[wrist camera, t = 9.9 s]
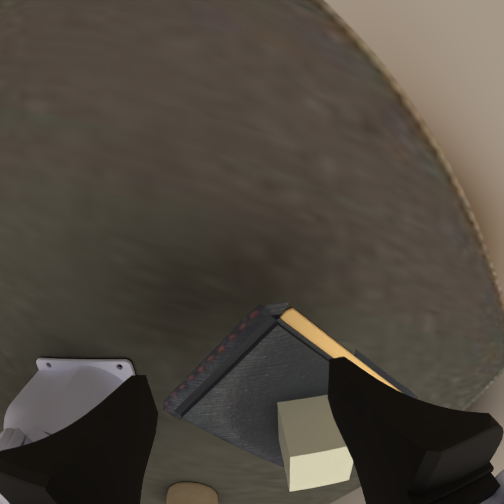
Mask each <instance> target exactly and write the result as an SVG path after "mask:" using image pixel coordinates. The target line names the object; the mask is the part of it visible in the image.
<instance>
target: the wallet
mask: <svg viewBox="0 0 504 504" xmlns="http://www.w3.org/2000/svg"><path fill="white" fill-rule="evenodd" d="M288 304H289V302H283V303H276V304H269V305H264V306H261V305H258V306H257V307H256V308H255V309H254V310H253V311H252V312H251V313H250V314H249V315H247V316H246V317H245V318H244V319H243V320H242V321H241V322H240V323H239V325H238V326H237V327H236V328H235V329H234V330H233V331H232V332H231V333H230V334H229V335H228V336H227V337H226V338H225V339H224V340H223V341H222V342H221V343H220V344H219V345H218V346H217V347H216V348H215V349H214V350H213V351H212V352H211V353H210V355H209V356H208V357H207V358H206V359H205V360H204V361H203V362H202V363H201V364H200V365H199V366H198V367H197V368H196V369H195V370H194V371H193V372H192V373H191V374H190V375H189V376H188V377H187V378H186V379H185V380H184V381H183V382H182V383H181V384H180V385H179V386H178V387H177V388H176V389H175V390H174V391H173V392H172V393H171V395H170V396H169V397H168V398H167V399H166V400H165V402H164V407H163V410H165V411H166V412H168V413H169V414H171V415H172V416H174V417H176V418H177V419H179V420H181V418H182V417H183V418H184V419H186V420H188V421H190V422H191V423H193V424H195V425H197V426H198V427H200V428H202V429H204V430H206V431H208V432H209V433H211V434H213V435H215V436H217V437H219V438H221V439H223V440H225V441H227V442H229V443H231V444H233V445H235V446H237V447H239V448H241V449H243V450H246V451H248V452H250V453H252V454H254V455H257V456H259V457H261V458H263V459H266V460H268V461H270V462H273V463H275V464H277V465H280V466H282V467H284V462H283V457H282V453H281V448H280V443H279V432H278V406H277V402H283V401H291V400H298V399H304V398H311V397H317V396H323V395H328V380H329V359H332V358H338V357H343V356H344V357H346V358H347V359H349V360H350V361H352V362H353V363H354V364H356V365H357V366H359V367H360V368H362V369H363V370H364V371H366V372H367V373H369V374H370V375H372V376H373V377H375V378H377V379H378V380H380V381H381V382H383V383H385V384H386V385H388V386H390V387H392V388H394V389H396V390H397V391H399V392H402V393H404V394H406V395H408V396H411V397H413V398H415V399H417V398H418V397H417V396H415V395H414V394H413V393H412V392H411V391H410V390H409V389H408V388H406V387H405V386H403V385H402V384H400V383H399V382H397V381H396V380H394V379H393V378H392V377H391V376H389V375H388V374H387V373H386V372H384V371H383V370H382V369H380V368H379V367H378V366H377V365H375V364H374V363H373V362H371V361H370V360H369V359H368V358H366V357H365V356H364V355H362V354H361V353H360V352H359V351H357V350H356V351H355V355H353V354H351V353H350V352H349V351H348V350H346V349H345V348H344V347H342V346H341V345H340V344H339V343H337V342H336V341H335V340H333V339H332V338H331V337H330V336H328V335H327V334H326V333H324V332H323V331H322V330H321V329H319V328H318V327H317V326H315V325H314V324H313V323H312V322H310V321H309V320H308V319H307V318H305V317H304V316H303V315H301V314H300V313H299V312H298V311H296V310H295V309H294V308H290V309H287V310H286V308H287V306H288Z"/></svg>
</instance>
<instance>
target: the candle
mask: <svg viewBox="0 0 504 504" xmlns="http://www.w3.org/2000/svg"><path fill="white" fill-rule="evenodd" d="M166 504H218V496H217V493H216V492H215V491H214V490H213V489H212V488H210V487H208V486H206V485H203V484H200V483H194V482H181V483H176V484H174V485H172V486H171V487H170V488H169V490H168V493H167V499H166Z"/></svg>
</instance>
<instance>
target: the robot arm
mask: <svg viewBox="0 0 504 504" xmlns="http://www.w3.org/2000/svg"><path fill="white" fill-rule="evenodd" d="M49 363H50V364H51V365H50V364H49ZM36 364H37V367H38V369H39V371H38V372H37V373H36V374H35V375H34V376H33V377H32V379H31V380H30V381H29V382H28V383H27V384H26V386H25V387H24V388H23V389H22V390H21V392H20V393H19V394H18V395H17V396H16V398H15V399H14V400H13V401H12V403H11V404H10V405H9V407H8V409H7V411H6V414H5V419H4V430H3V431H2V432H1V433H0V504H140V498H141V489H142V482H143V477H144V473H145V470H146V466H147V462H148V459H149V455H150V452H151V448H152V444H153V441H154V437H155V433H156V426H157V417H158V412H157V409H156V406H155V403H154V400H153V397H152V394H151V391H150V387H149V384H148V381H147V378H146V375H135V372H134V368H133V365H132V363H131V362H130V361H129V360H127V359H56V358H38V359H37V360H36ZM118 364H120V365H122V367H120V366H119V365H118ZM328 401H329V405H330V408H331V412H332V415H333V418H334V420H335V423H336V425H337V427H338V429H339V431H340V434H341V436H342V438H343V440H344V442H345V444H346V446H347V449H348V451H349V453H350V455H351V457H352V460H353V462H354V465H355V467H356V470H357V474H358V477H359V480H360V483H361V487H362V490H363V494H364V497H365V501H366V504H504V470H503V471H501V472H500V473H499V474H498V475H497V476H496V477H494V476H493V475H492V474H491V472H492V471H493V469H494V468H493V466H492V465H491V463H490V460H491V458H492V457H493V455H494V453H495V452H496V450H497V448H498V446H499V444H500V442H501V440H502V436H503V428H502V427H501V426H500V425H499V423H498V422H497V421H496V420H495V419H494V418H493V417H492V416H491V415H490V414H489V413H477V412H466V411H459V410H454V409H448V408H444V407H440V406H436V405H433V404H430V403H426V402H423V401H421V400H418V399H415V398H413V397H411V396H408V395H406V394H404V393H402V392H399V391H397V390H396V389H394V388H392V387H390V386H388V385H386V384H385V383H383V382H381V381H380V380H378V379H377V378H375V377H373V376H372V375H370V374H369V373H367V372H366V371H364V370H363V369H362V368H360V367H359V366H357V365H356V364H354V363H353V362H352V361H350V360H349V359H347V358H346V357H344V356H343V357H338V358H332V359H329V380H328Z"/></svg>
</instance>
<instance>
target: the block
mask: <svg viewBox="0 0 504 504" xmlns="http://www.w3.org/2000/svg"><path fill="white" fill-rule="evenodd" d="M277 406H278V432H279V443H280V448H281V453H282V457H283V462H284V467H285V472H286V477H287V481H288V486H289V491H297V490H303V489H308V488H314V487H319V486H324V485H329V484H333V483H338V482H342V481H346V480H349V477H350V473H351V469H352V465H353V460H352V457H351V455H350V453H349V451H348V449H347V446H346V444H345V442H344V440H343V438H342V436H341V434H340V431H339V429H338V427H337V425H336V423H335V420H334V418H333V415H332V412H331V408H330V405H329V401H328V395H323V396H317V397H311V398H304V399H298V400H291V401H283V402H277Z"/></svg>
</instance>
